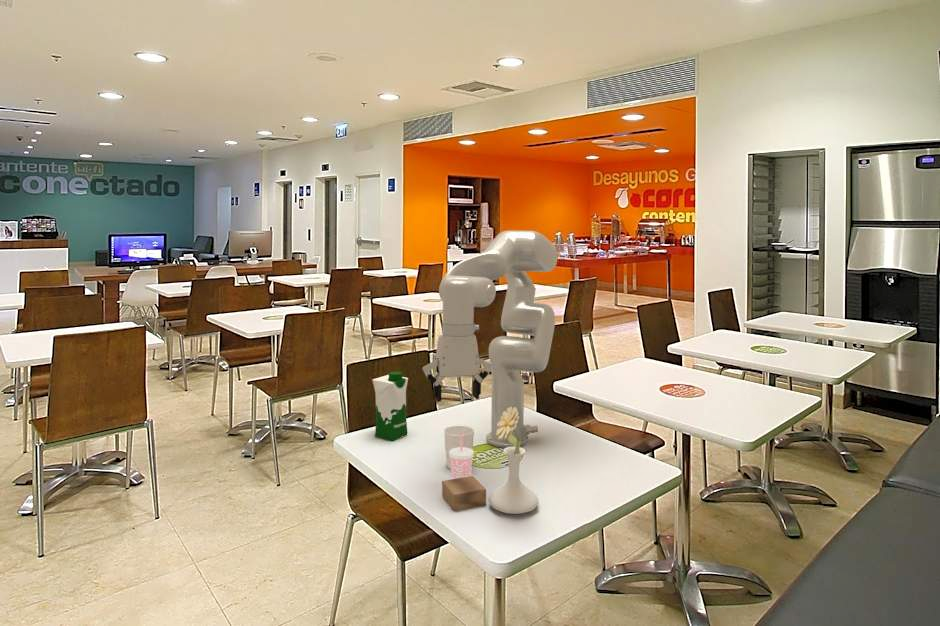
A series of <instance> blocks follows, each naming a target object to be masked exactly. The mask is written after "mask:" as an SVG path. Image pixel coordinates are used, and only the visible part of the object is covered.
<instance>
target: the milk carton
mask: <svg viewBox="0 0 940 626" xmlns="http://www.w3.org/2000/svg"><path fill="white" fill-rule="evenodd" d="M408 381H409V377H405V376H403V372H402V371H397V370H395V371H389V372H388V374H387V375H383V376H380V377H377V378H373V379H372V385H373V387H374V393H375V431H374V437H375V438H380V439H383V440H386V441H389V440H390V441H389V442H394V441H397V440H399V439H400V437H401V438H403V437H405V435H406V436H408V435H407V434H409V433H408V423H407V387H408ZM402 436H403V437H402ZM398 438H399V439H398Z"/></svg>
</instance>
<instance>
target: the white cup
mask: <svg viewBox="0 0 940 626" xmlns="http://www.w3.org/2000/svg"><path fill="white" fill-rule="evenodd" d="M474 431H475V430H474V428H473V427H470V426H468V425H460V424H458V425H457V424H456V425H450V426H447V427H445V429H444V432H443V433H444V434H443V435H444V449H445V459H446V461H445V465H446V468H448V469H449V470H451V461H450V455H449V451H450V450H451V449H453V448H456V447H460V432H462V447H466V448H470V449H472V450H473V451H474V435H475V433H474Z"/></svg>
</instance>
